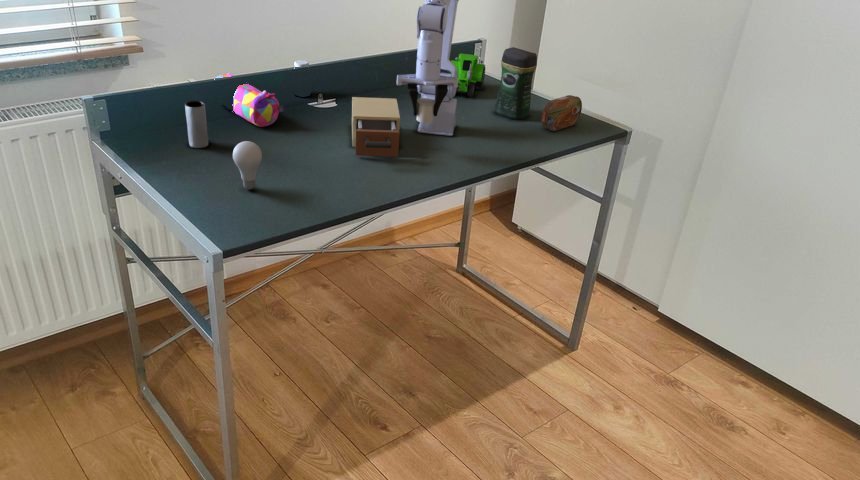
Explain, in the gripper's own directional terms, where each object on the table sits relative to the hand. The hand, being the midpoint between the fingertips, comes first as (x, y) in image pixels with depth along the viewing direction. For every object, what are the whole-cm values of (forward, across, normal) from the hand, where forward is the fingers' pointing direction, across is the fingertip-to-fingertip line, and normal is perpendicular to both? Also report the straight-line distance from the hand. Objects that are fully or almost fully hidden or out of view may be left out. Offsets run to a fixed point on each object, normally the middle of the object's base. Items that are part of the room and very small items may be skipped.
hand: (424, 114), depth 178 cm
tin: (+10, +41, +21) cm, 47 cm away
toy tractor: (+10, +18, +49) cm, 53 cm away
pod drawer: (+9, -12, -1) cm, 15 cm away
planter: (+10, -55, +1) cm, 56 cm away
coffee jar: (+10, +29, +29) cm, 42 cm away
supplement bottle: (+10, -31, +39) cm, 51 cm away
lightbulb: (+10, -40, -22) cm, 47 cm away
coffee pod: (+1, 0, 0) cm, 1 cm away
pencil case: (+10, -45, +22) cm, 51 cm away
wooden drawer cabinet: (+10, -12, +9) cm, 18 cm away
